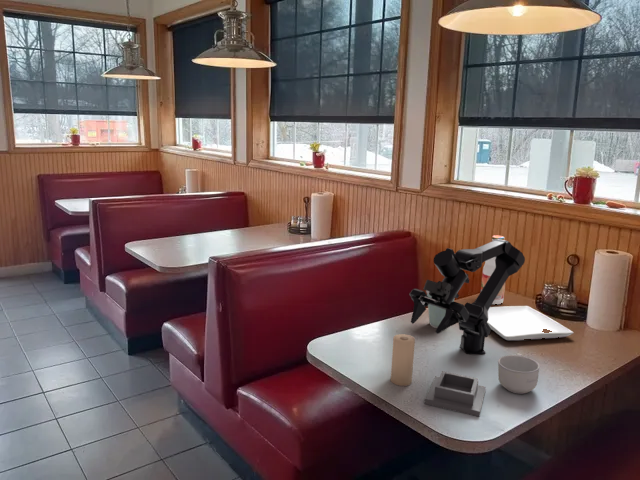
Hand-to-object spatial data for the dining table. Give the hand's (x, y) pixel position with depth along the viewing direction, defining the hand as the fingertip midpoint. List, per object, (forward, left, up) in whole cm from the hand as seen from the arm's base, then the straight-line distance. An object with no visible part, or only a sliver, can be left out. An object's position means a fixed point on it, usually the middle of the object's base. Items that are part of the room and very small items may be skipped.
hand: (423, 327), depth 153 cm
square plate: (-46, -34, -15) cm, 59 cm away
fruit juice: (-48, -63, -14) cm, 80 cm away
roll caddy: (-6, +15, -14) cm, 21 cm away
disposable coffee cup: (-17, -36, -14) cm, 42 cm away
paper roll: (+7, +5, -14) cm, 17 cm away
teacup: (-26, +9, -14) cm, 31 cm away
